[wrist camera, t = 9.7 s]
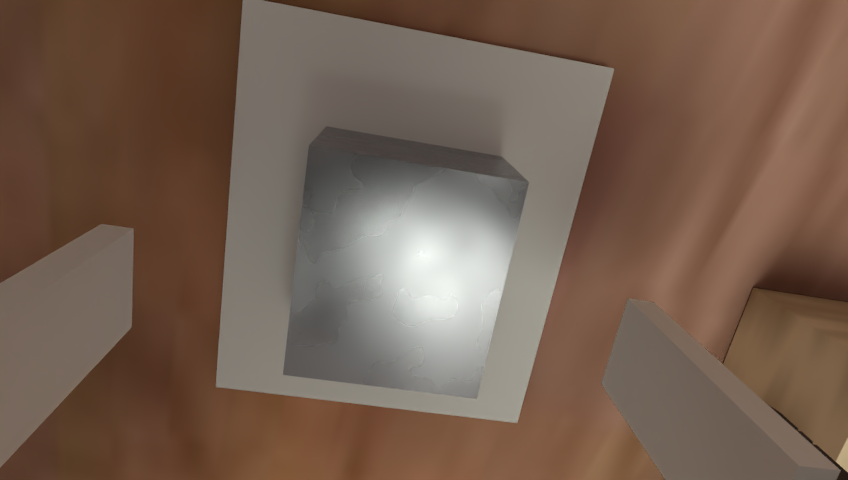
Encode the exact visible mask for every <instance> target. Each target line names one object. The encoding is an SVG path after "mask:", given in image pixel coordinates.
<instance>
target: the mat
mask: <svg viewBox="0 0 848 480" xmlns="http://www.w3.org/2000/svg"><path fill="white" fill-rule="evenodd" d="M613 72H614V68H609V67H604V66H599V65H594V64H589V63H584V62H578V61H573V60H568V59H563V58H558V57H553V56H548V55H542V54H537V53H532V52H527V51H522V50H517V49H511V48H506V47H501V46H496V45H491V44H486V43H481V42H475V41H470V40H465V39H460V38H455V37H450V36H444V35H439V34H434V33H429V32H424V31H419V30H414V29H408V28H403V27H398V26H393V25H388V24H383V23H377V22H372V21H367V20H362V19H357V18H352V17H347V16H341V15H336V14H331V13H326V12H321V11H316V10H310V9H305V8H300V7H295V6H290V5H285V4H280V3H274V2H269V1H264V0H243V4H242V19H241V33H240V47H239V61H238V76H237V90H236V104H235V118H234V133H233V147H232V161H231V175H230V190H229V204H228V218H227V232H226V247H225V261H224V275H223V289H222V304H221V318H220V332H219V346H218V361H217V375H216V387H220V388H229V389H237V390H246V391H254V392H262V393H271V394H279V395H287V396H296V397H304V398H312V399H321V400H329V401H337V402H346V403H354V404H362V405H371V406H379V407H387V408H396V409H404V410H412V411H421V412H429V413H438V414H446V415H454V416H463V417H471V418H479V419H488V420H496V421H504V422H513V423H517V422H518V418H519V415H520V411H521V407H522V404H523V400H524V396H525V393H526V389H527V385H528V382H529V378H530V375H531V371H532V367H533V364H534V360H535V356H536V353H537V349H538V345H539V342H540V338H541V334H542V331H543V327H544V324H545V320H546V316H547V313H548V309H549V305H550V302H551V298H552V294H553V291H554V287H555V283H556V280H557V276H558V272H559V269H560V265H561V262H562V258H563V254H564V251H565V247H566V243H567V240H568V236H569V232H570V229H571V225H572V221H573V218H574V214H575V211H576V207H577V203H578V200H579V196H580V192H581V189H582V185H583V181H584V178H585V174H586V170H587V167H588V163H589V160H590V156H591V152H592V149H593V145H594V141H595V138H596V134H597V130H598V127H599V123H600V119H601V116H602V112H603V109H604V105H605V101H606V98H607V94H608V90H609V87H610V83H611V79H612V76H613ZM326 126H328V127H334V128H340V129H346V130H352V131H357V132H363V133H369V134H375V135H381V136H386V137H392V138H398V139H404V140H410V141H415V142H421V143H427V144H433V145H439V146H444V147H450V148H456V149H462V150H468V151H474V152H479V153H485V154H491V155H497V156H502V157H503V158H504V159H505V160H506V161H507V162H508V163H509V164H511V165H512V166H513V167H514V168H515V169H516V170H517V171H518V172H519V173H520V174H521V175H522V176H523V177H524V178H525V179H526V180H527V181H528V182H529V186H528V190H527V194H526V198H525V202H524V206H523V210H522V214H521V218H520V223H519V227H518V231H517V235H516V239H515V243H514V247H513V251H512V255H511V260H510V264H509V268H508V272H507V276H506V280H505V284H504V288H503V292H502V297H501V301H500V305H499V309H498V313H497V317H496V321H495V325H494V329H493V334H492V338H491V342H490V346H489V350H488V354H487V358H486V362H485V366H484V371H483V375H482V379H481V383H480V387H479V391H478V395H477V399H474V398H466V397H457V396H449V395H441V394H433V393H425V392H417V391H409V390H401V389H393V388H385V387H377V386H368V385H360V384H352V383H344V382H336V381H328V380H320V379H312V378H304V377H296V376H287V375H283V369H284V360H285V351H286V342H287V334H288V325H289V316H290V307H291V298H292V289H293V281H294V272H295V263H296V254H297V245H298V236H299V228H300V219H301V210H302V201H303V192H304V183H305V175H306V166H307V157H308V148H309V145H310V143H311V142H312V141H313V140H314V139H315V138H316V137H317V136H318V135H319V134H320V133H321V132H322V130H323V129H324V128H325V127H326Z"/></svg>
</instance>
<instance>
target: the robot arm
mask: <svg viewBox="0 0 848 480" xmlns="http://www.w3.org/2000/svg"><path fill="white" fill-rule="evenodd" d="M133 244H134V228H128V227H120V226H113V225H106V224H100V225H99V226H97V227H95V228H93V229H92V230H90V231H88V232H87V233H85V234H83V235H81V236H80V237H78V238H76V239H75V240H73V241H71V242H70V243H68V244H66V245H64V246H63V247H61V248H59V249H58V250H56V251H54V252H52V253H51V254H49V255H47V256H46V257H44V258H42V259H40V260H39V261H37V262H35V263H34V264H32V265H30V266H29V267H27V268H25V269H23V270H22V271H20V272H18V273H17V274H15V275H13V276H11V277H10V278H8V279H6V280H5V281H3V282H1V283H0V467H1V466H2V465H3V464H4V463H5V462H6V461H7V460H8V459H9V458H10V457H11V456H12V455H13V454H14V452H15V451H16V450H17V449H18V448H19V447H20V446H21V445H22V444H23V443H24V442H25V441H26V440H27V439H28V437H29V436H30V435H31V434H32V433H33V432H34V431H35V430H36V429H37V428H38V427H39V426H40V425H41V424H42V423H43V421H44V420H45V419H46V418H47V417H48V416H49V415H50V414H51V413H52V412H53V411H54V410H55V409H56V408H57V407H58V405H59V404H60V403H61V402H62V401H63V400H64V399H65V398H66V397H67V396H68V395H69V394H70V393H71V392H72V390H73V389H74V388H75V387H76V386H77V385H78V384H79V383H80V382H81V381H82V380H83V379H84V378H85V377H86V376H87V374H88V373H89V372H90V371H91V370H92V369H93V368H94V367H95V366H96V365H97V364H98V363H99V362H100V361H101V360H102V358H103V357H104V356H105V355H106V354H107V353H108V352H109V351H110V350H111V349H112V348H113V347H114V346H115V345H116V344H117V342H118V341H119V340H120V339H121V338H122V337H123V336H124V335H125V334H126V333H127V332H128V331H129V330H130V329H131V327H132V293H133ZM601 385H602V386H603V388H604V389H605V391H606V392H607V394H608V395H609V397H610V398H611V400H612V401H613V403H614V404H615V406H616V407H617V409H618V410H619V411H620V413H621V414H622V416H623V417H624V419H625V420H626V422H627V423H628V425H629V426H630V428H631V429H632V431H633V432H634V434H635V435H636V437H637V438H638V440H639V441H640V443H641V444H642V446H643V447H644V449H645V450H646V452H647V453H648V455H649V456H650V458H651V459H652V461H653V462H654V464H655V465H656V467H657V468H658V470H659V471H660V473H661V474H662V476H663V477H664V479H665V480H848V472H847V471H846V470H844V469H843V468H842V467H841V466H840V465H839V464H838V463H837V462H835V461H834V460H833V459H832V458H831V457H830V456H829V455H828V454H826V453H825V452H824V451H823V450H822V449H821V448H820V447H819V446H817V445H815V444H813V441H812V440H811V439H810V438H808V437H807V436H806V435H805V434H804V433H803V432H802V431H798V428H797V427H796V426H795V425H794V424H793V423H792V422H790V421H789V420H788V419H787V418H786V417H785V416H784V415H783V414H782V413H780V412H779V411H777V410H776V409H774V408H772V407H771V406H769V405H768V404H766V403H765V402H764V401H763V400H762V399H761V398H760V397H759V396H757V395H756V394H755V393H754V392H753V391H752V390H751V389H750V388H749V387H747V386H746V385H745V384H744V383H743V382H742V381H741V380H740V379H739V378H737V377H736V376H735V375H734V374H733V373H732V372H731V371H730V370H729V369H727V368H726V367H725V366H724V365H723V364H722V363H721V362H720V361H719V360H717V359H716V358H715V357H714V356H713V355H712V354H711V353H710V352H709V351H707V350H706V349H705V348H704V347H703V346H702V345H701V344H700V343H699V342H697V341H696V340H695V339H694V338H693V337H692V336H691V335H690V334H689V333H687V332H686V331H685V330H684V329H683V328H682V327H681V326H680V325H679V324H677V323H676V322H675V321H674V320H673V319H672V318H671V317H670V316H669V315H667V314H666V313H665V312H664V311H663V310H662V309H661V308H660V307H659V306H657V305H656V304H655V303H654V302H650V301H643V300H636V299H629V298H628V300H627V303H626V306H625V309H624V312H623V316H622V319H621V322H620V325H619V328H618V331H617V335H616V338H615V341H614V344H613V347H612V351H611V354H610V357H609V360H608V363H607V366H606V370H605V373H604V376H603V379H602V382H601Z"/></svg>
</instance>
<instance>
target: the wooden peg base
mask: <svg viewBox="0 0 848 480" xmlns="http://www.w3.org/2000/svg"><path fill="white" fill-rule="evenodd" d="M723 365H724V366H725V367H726V368H727V369H729V370H730V371H731V372H732V373H733V374H734V375H735V376H736V377H737V378H739V379H740V380H741V381H742V382H743V383H744V384H745V385H746V386H747V387H749V388H750V389H751V390H752V391H753V392H754V393H755V394H756V395H757V396H759V397H760V398H761V399H762V400H763V401H764V402H765V403H766V404H768V405H769V406H771V407H772V408H774V409H776V410H777V411H779V412H780V413H782V414H783V415H784V416H785V417H786V418H787V419H788V420H789V421H790V422H792V423H793V424H794V425H795V426H796V427H797V428H798V431H802V432H803V433H804V434H805V435H806V436H807V437H808V438H810V439H811V440H812V441H813V444H815V445H817V446H819V447H820V448H821V449H822V450H823V451H824V452H825V453H826V454H828V455H829V456H830V457H831V458H832V459H833V460H834V461H835V462H837V463H838V464H839V465H840V466H841V467H842V468H843V469H844V470H846V471H847V472H848V302H843V301H836V300H830V299H823V298H817V297H810V296H804V295H797V294H791V293H784V292H778V291H771V290H765V289H758V288H753V290H752V292H751V295H750V297H749V300H748V302H747V305H746V307H745V310H744V312H743V315H742V317H741V320H740V322H739V325H738V328H737V330H736V333H735V335H734V338H733V340H732V343H731V345H730V348H729V350H728V353H727V355H726V358H725V360H724V363H723Z"/></svg>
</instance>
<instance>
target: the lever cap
mask: <svg viewBox="0 0 848 480" xmlns="http://www.w3.org/2000/svg"><path fill="white" fill-rule="evenodd" d="M528 186H529V182H528V181H527V180H526V179H525V178H524V177H523V176H522V175H521V174H520V173H519V172H518V171H517V170H516V169H515V168H514V167H513V166H512V165H511V164H509V163H508V162H507V161H506V160H505V159H504V158H503V157H502V156H497V155H491V154H485V153H479V152H474V151H468V150H462V149H456V148H450V147H444V146H439V145H433V144H427V143H421V142H415V141H410V140H404V139H398V138H392V137H386V136H381V135H375V134H369V133H363V132H357V131H352V130H346V129H340V128H334V127H328V126H326V127H325V128H324V129H323V130H322V132H321V133H320V134H319V135H318V136H317V137H316V138H315V139H314V140H313V141H312V142H311V143H310V145H309V148H308V157H307V166H306V175H305V183H304V192H303V201H302V210H301V219H300V228H299V236H298V245H297V254H296V263H295V272H294V281H293V289H292V298H291V307H290V316H289V325H288V334H287V342H286V351H285V360H284V369H283V375H287V376H296V377H304V378H312V379H320V380H328V381H336V382H344V383H352V384H360V385H368V386H377V387H385V388H393V389H401V390H409V391H417V392H425V393H433V394H441V395H449V396H457V397H466V398H474V399H477V395H478V391H479V387H480V383H481V379H482V375H483V371H484V366H485V362H486V358H487V354H488V350H489V346H490V342H491V338H492V334H493V329H494V325H495V321H496V317H497V313H498V309H499V305H500V301H501V297H502V292H503V288H504V284H505V280H506V276H507V272H508V268H509V264H510V260H511V255H512V251H513V247H514V243H515V239H516V235H517V231H518V227H519V223H520V218H521V214H522V210H523V206H524V202H525V198H526V194H527V190H528Z"/></svg>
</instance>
